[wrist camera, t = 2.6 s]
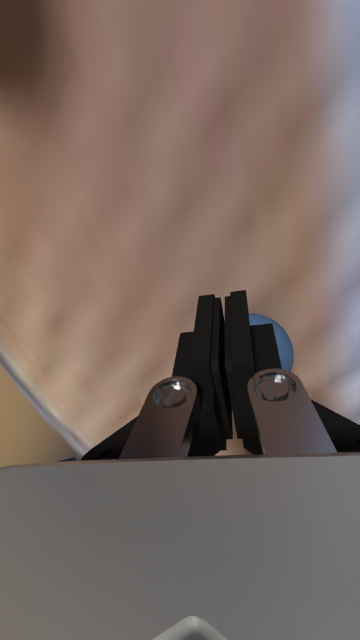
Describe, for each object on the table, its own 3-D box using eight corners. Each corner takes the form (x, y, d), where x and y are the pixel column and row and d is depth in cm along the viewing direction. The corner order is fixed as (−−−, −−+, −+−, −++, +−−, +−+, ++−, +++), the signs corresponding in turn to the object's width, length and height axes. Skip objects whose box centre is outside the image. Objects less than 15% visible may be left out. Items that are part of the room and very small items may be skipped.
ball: (285, 294, 26) (298, 342, 21) (288, 356, 29) (300, 411, 24) (207, 303, 27) (201, 350, 22) (218, 362, 30) (215, 414, 25)
